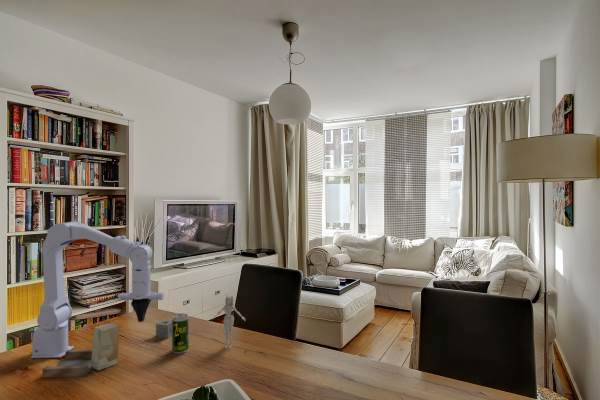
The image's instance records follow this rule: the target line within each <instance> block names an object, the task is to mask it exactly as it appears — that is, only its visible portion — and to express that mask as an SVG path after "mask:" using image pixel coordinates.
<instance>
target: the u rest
mask: <svg viewBox="0 0 600 400" xmlns="http://www.w3.org/2000/svg"><path fill="white" fill-rule="evenodd" d="M64 356H65V358H64V359H63V360H62V361H60V362H59V363H58V364H57V365H54V366H53V365H52V366H51V365H50V366H44V367H43V368H42V378H71V377H72V378H75V377H79V378H80V377H87V376H88V375H89V374H90V373H91V372H92V371H93V370H94V369H95V368H93V367H91V359H92V348H91V349H90V348H89V349H88V348H87V349H80V348H79V349H71V350H67V351H66V352H65V355H64Z"/></svg>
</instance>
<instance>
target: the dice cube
mask: <svg viewBox="0 0 600 400" xmlns="http://www.w3.org/2000/svg"><path fill="white" fill-rule="evenodd" d="M155 337H156V338H159V339H160V338H161V339H169V338H172V319H162V320H160V321H159V322H157V323H156V324H155Z"/></svg>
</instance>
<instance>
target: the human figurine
mask: <svg viewBox="0 0 600 400" xmlns="http://www.w3.org/2000/svg"><path fill="white" fill-rule="evenodd" d="M233 311H235V313H236V314H237V315H238V316H239V317H241V319H242V320H243V321H244V322H246V318H245V317H244V316H243V315H242V314H241V313H240V312H239V311H238V310H237V308H236V307H235V305H234V297H233V295H232V294H227V295H225V305H223V307H222V308H221V310H219V311H218V312H217V313H216V315H214V316H213V318H212V320H214V319H215V318H216V317H217V316H218V315H220V314H221V313H222V312H224V313H225V315H224V318H223V327H224V331H225V332H224V334H225V335H224V336H225V346H224V347H223V348H224V349H227V347H228V349H231V348H232V342H233V341H232V340H233V331H232V330H233V326H234V321H235V317H234V315H232V312H233ZM228 340H229V345H228Z"/></svg>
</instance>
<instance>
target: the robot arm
mask: <svg viewBox="0 0 600 400" xmlns="http://www.w3.org/2000/svg"><path fill="white" fill-rule="evenodd" d="M46 234H47V235H46V237H45V239H44V241H43V243H42V245H41V251H42V269H43V270H42V271H43V288H44V290H43V291H44V300H43V301H42V303H41V305H40V306H39V313H38V316H37V320H36V322H37V325H38V327H37V328H36V329H35V330H34V332H33V334H32V355H31V359H41V358H42V359H43V358H44V359H47V358H48V359H50V358H62V357H63V356H66V355H65V352H66V351H67V350H74V348H75V346H74V345H69V319H71V317H72V315H73V308H72V307H71V304H70V299H69V298H68V297H67V296H65V282H64V280H65V279H64V264H63V263H64V262H63V261H64V260H63V259H64V258H63V250H64V249H65V248H66V247H67V246H68V245H70V243H72V242H74V241H76V240H81V239H86V240H89V241H91V242H94V243H98V244H101V245H104V246H107V247H108V249H109V251H110V253H114V254H116V255H119V256H121V257H123V258H125V259H129V261H130V262H131V265H132V266H131V280H132V281H131V283H132V284H131V292H124V293H123V292H122V293H119V294H118V295H117V300H118V302H120V301H131V302H130V305H131V307H132V308H133V310H134V312H135V314H136V317H137V322H138V323H143V322H144V321H145V320H146V319H145V318H146V314H147V310H148V307H149V305H150V303H151V301H153V300H159V301H164V299H165V293H164V292H154V291H151V258H152V257H153V253H154V251H153V249H152V247H151V246H150V245H148V244H147V243H142V244H140V242H139V241H134V240H131V239H127V236H125V235H121V236H120V235H117V236H115V237H113V236H111V235H109V234H106V233H104V232H102V231H100V230H98V229H96V228H94V227H92V226H90V225H88V224H86V223H81V222H80V221H77V220H73V221H67V222H59V223H58V222H57V223H55V224H53V225H52V226H51V227H49V229H47V230H46Z"/></svg>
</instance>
